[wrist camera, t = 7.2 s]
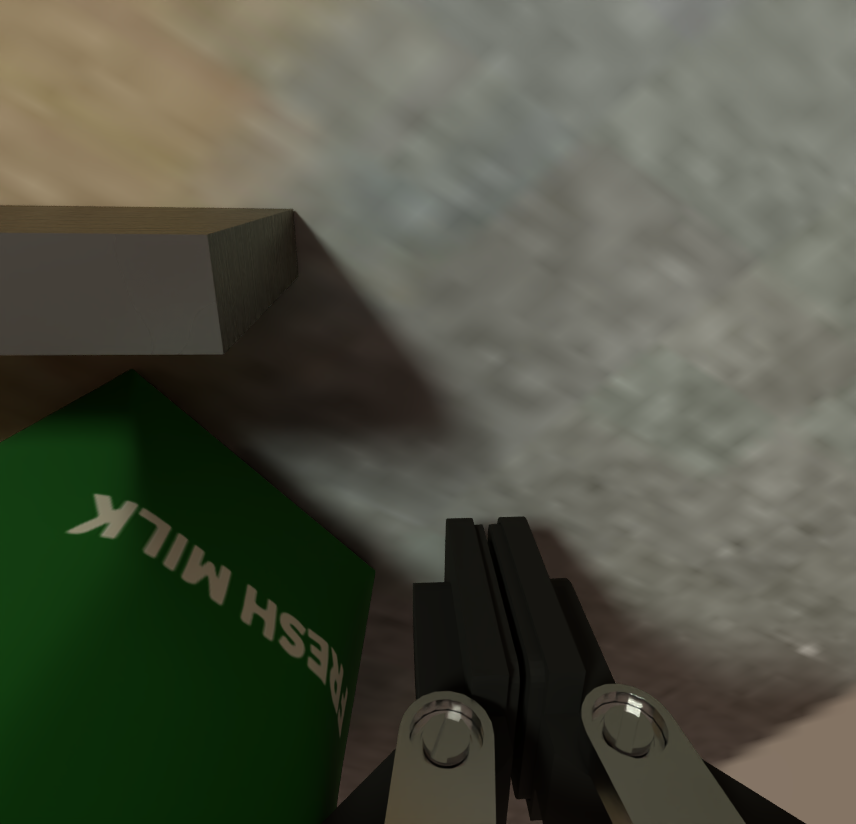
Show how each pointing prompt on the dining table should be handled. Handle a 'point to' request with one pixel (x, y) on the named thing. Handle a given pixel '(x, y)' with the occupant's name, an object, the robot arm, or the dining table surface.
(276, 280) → the bracket
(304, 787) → the soya milk
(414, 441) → the dining table surface
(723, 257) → the dining table surface
